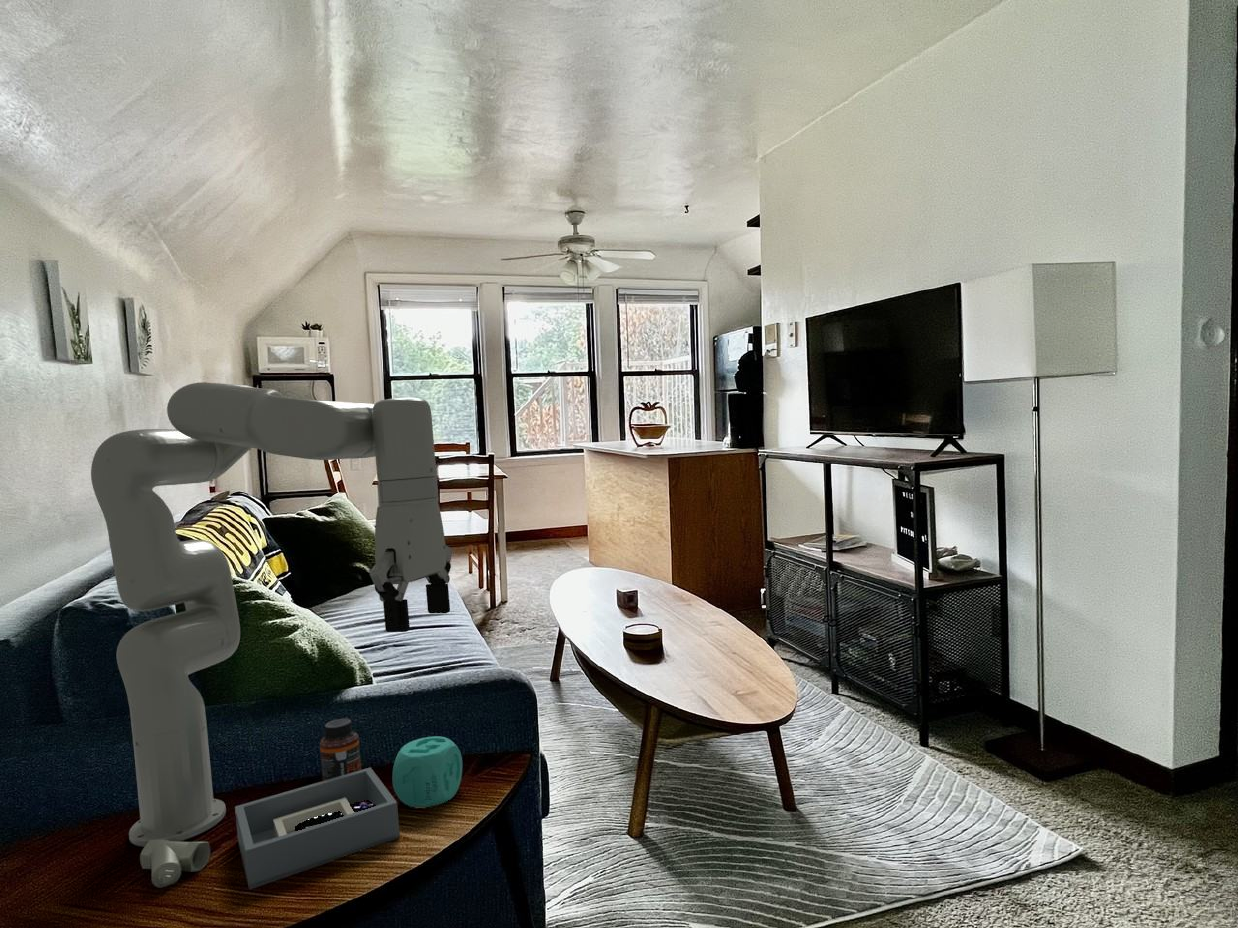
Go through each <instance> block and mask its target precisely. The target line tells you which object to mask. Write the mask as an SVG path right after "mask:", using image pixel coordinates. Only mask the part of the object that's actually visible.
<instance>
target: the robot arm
mask: <svg viewBox="0 0 1238 928" xmlns="http://www.w3.org/2000/svg"><path fill="white" fill-rule="evenodd" d="M166 413H167V417H168V420H169V421H170V423H171V425H172V427H174V429H170V428H169V429H167V428H166V429H165V428H164V429H163V428H151V429H150V428H146V429H145V428H144V429H135V430H133V429H132V430H127V431H122V432H119V433H116V434H113V435H112V436H109V437H108V438H106V439H105V440H104V441H103V442H101V444H100V445H99V446H98V447H97V449H96V450H95V453H94V456H93V457H92V461H91V468H90V478H91V479H90V480H91V484H92V485H91V486H92V489H93V491H94V495H95V498H96V500H97V503H98V505H99V507H100V509H101V512H102V514H103V515H102V516H103V518H104V521H105V524H106V528H107V533H108V534H107V535H108V541H109V547H110V553H111V557H112V558H111V559H112V563H113V571H114V576H115V582H116V587H117V591H118V594H119V598H120V600H121V603H123V605H124V606H125V607H126V608H127V609H129V610H131V611H133V612H147V611H155V610H159V609H163V608H167V607H168V608H169V607H172V606H175V605H179V604H184V607H185V610H184V611H181V612H176V613H173V614H168V615H166V616H162V617H157V618H153V619H151V620H147V621H144V622H143V623H140V624H139V625H136V626H134V627H133V628H131V629H130V630H128V631H127V632H126V633H125V634H124V635H123V636H122V637H121V639H120V641H119V643H118V645H117V648H116V663H117V668H118V670H119V673H120V676H121V679H122V682H123V684H124V685H123V686H124V688H125V691H126V696H127V702H128V706H129V716H130V724H131V733H132V734H131V735H132V743H133V753H134V762H135V763H134V764H135V775H136V785H137V787H136V788H137V796H138V807H139V818H140V819H139V820H138V821H136V822H134V824H133V825H132V826H131V827H130V829H129V832H128V837H129V838H128V839H129V841H130V843H131V844H133V845H135V846H137V847H143V848H144V847H145V846H146V844H147V843H148V842H149V841H150V840H169V841H177V842H184V841H185V840H188V839H191V838H194V837H196V836H198V835H201V834H202V833H204V832H206V831H209V830H210V829H212V828H213V827H215V826H216V825H218V824H219V823H220V822H221V821H222V820H223V819H224V818H225V816H226V813H227V808H226V804H225V802H224V801H223V800H221V799H219V798H218V799H217V798H214V792H213V790H214V789H213V781H212V780H213V779H212V769H211V768H212V767H211V760H210V759H211V758H210V749H209V737H208V727H207V726H208V725H207V716H206V706H205V702H204V698H203V696H202V695H201V692H200V691H199V690H198V689H197V688H196V686H195V685H194V684H193V683H192V681H191V680H190V679H189V675H191V674H193V673H195V672H198V671H200V670H203V669H207V668H209V667H211V666H214V665H217V664H219V663H221V662H222V663H223V662H224V661H225V660H227V659H229V658H230V657H232V656H233V654H234V653H236V651H237V649H238V646H239V644H240V640H241V625H240V617H239V612H238V607H237V606H238V605H237V600H236V594H235V588H234V583H233V577H232V572H231V567H230V563H229V561H228V559H227V557H226V555H225V554H224V552H223V551H222V550H221V549H220V547H218V546H217V545H216V544H215V543H213V542H211V541H209V540H205V539H189V540H183V541H179V539H178V536H177V532H176V526H175V520H174V519H175V518H174V516H173V514H172V512H171V509H170V508H169V506H168V505H167V504H166V502H165V501H164V500H163V498H161V496H160V495H158V494H157V493H156V492H155V491H153V489H154V488H155V487H161V486H163V487H164V486H175V485H189V484H201V483H206V482H211V481H213V480H215V479H218V478H219V477H221V476H223V475H224V474H225V473H226V472H227V471H229V470H230V469H231V468H232V467H233V465H235V464H236V463H237V462H238V461H240V459H241V458H242V457H243V456H245V454H247V453H248V452H249V451H250V450H251V449H252V448H253V449H258V450H260V451H262V452H264V453H268V454H272V455H278V456H282V457H283V456H284V457H290V458H296V459H297V458H298V459H304V460H305V459H306V460H314V461H333V460H334V461H335V460H347V459H353V460H354V459H367V458H374V457H375V466H376V478H377V491H378V501H379V504H378V505H379V506H377V507H376V513H375V524H374V525H375V526H374V528H375V529H374V552H375V554H374V555H375V556H374V558H375V559H374V560H375V564H374V565H373V566H372V568H371V569H370V571H369V576H370V578H371V581H372V582H373V585H374V591H376V593H377V595H379V600H380V602H382V604H383V605H382V606H383V616H384V627H385V631H386V632H387V633H406V632H408V631H410V616H409V615H410V614H409V603H408V598H407V599H405V598H404V597H405V595H406V591H407V589H408V586H409V583H412V582H415V581H418V580H421V579H426V580H427V582H428V583H427V584H425V593H426V595H425V596H426V602H427V603H426V604H427V605H426V606H427V612H428V613H429V614H448V613H450V611H451V606H450V604H451V603H450V594H449V592H450V591H449V583H450V578H451V577H450V575H449V574H450V571H451V568H452V564H451V561H452V556H453V549H452V547H449V546H448V545H447V544H446V539H445V531H444V525H443V519H442V514H441V510H440V505H439V488H438V477H437V476H438V475H437V467H436V466H437V464H436V452H435V451H436V450H435V439H434V428H433V416H432V409H431V406H430V403H429V402H428V401H427V400H425V399H424V398H419V397H397V398H388V399H382V400H379V401H377V402H376V403H365V402H354V401H333V400H332V401H330V400H328V401H327V400H317V399H316V400H313V399H305V398H304V399H302V398H294V397H286V396H284V395H283V394H282V393H281V392H280V391H277V390H276V389H271V388H270V389H269V388H261V387H260V388H259V387H253V386H251V385H246V384H245V385H244V384H237V383H236V384H233V383H222V382H221V383H219V382H209V381H207V382H206V381H204V382H202V381H201V382H194V383H190V384H186V385H184V386H182V387H180V388H179V389H177V390H176V391H175V392H174V393H173V394H172V395H171V397H170V398H169V400H168V403H167V408H166ZM395 585H397V588H396V587H395Z"/></svg>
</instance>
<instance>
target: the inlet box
mask: <svg viewBox="0 0 1238 928" xmlns="http://www.w3.org/2000/svg"><path fill="white" fill-rule="evenodd" d="M390 792H391V791H389V790H388V788H387V787H386V786H385V785H384V783H383V782H382V780H381V779H380V778H379V776H378V775H377V774H376V773H375V771H374V770H373V769H372V767H371V766H369V767H368V768H364V769H361V770H360V771H356V772H353V773H349V774H346V775H342V776H339V777H335V778H332V779H328V780H325V781H323V780H322V781H318V782H315V783H312V784H308V785H305V786H301V787H298V788H295V789H291V790H288V791H284V792H281V793H278V794H274V795H270V796H267V797H263V798H260V799H256V800H253V801H249V802H246V803H242V804H239V805H236V806H234V812H235V823H236V833H237V842H238V847H239V850H240V855H241V860H242V865H243V869H244V873H245V877H246V878H245V879H246V882H247V886H248V890H249V891H250V890H253V889H256V888H259V887H261V886H264V885H267V884H269V883H273V882H276V881H278V880H282V879H285V878H287V877H290V876H293V875H295V874H296V875H297V874H299V873H302V872H304V871H307V870H310V869H313V868H316V867H319V866H322V865H325V864H328V863H330V862H331V863H332V862H334V861H336V860H335V859H337V860H339V859H338V858H340V857H342V856H345V855H349V854H351V855H353V854H352V853H354V854H356V853H355V852H357V853H359V852H358V851H360V850H363V851H365V850H364V849H366V850H368V849H367V848H369V849H371V848H370V847H372V848H374V846H375V847H377V846H381V845H384V844H386V843H388V842H392V841H394V840H398V839H400V838H401V834H400V823H399V811H398V810H399V808H398V802H397V800H396V799H395V798H394V795H392V794H391V793H390ZM364 800H365V801H366V800H369V801H370V802H372V803H373V804H375V805H376V806H374V807H371V808H368V809H365V810H361V811H358V812H354V811H353V809H352V807H351V806H350V804H354V803H355V802H361V801H364ZM338 811H341V812H342V813H343V815H344V816H343V817H339V818H336V819H333V820H330V821H327V822H324V823H321V824H317V825H314V826H311V827H308V828H305V829H302V830H298V831H295V826H297V825H298V824H299V823H302V822H304V821H306V820H308V819H310V818H313V817H317V816H321V815H324V814H327V813H334V812H338ZM376 845H377V846H376ZM360 852H361V851H360ZM349 856H350V855H349ZM340 859H341V858H340ZM333 860H334V861H333Z"/></svg>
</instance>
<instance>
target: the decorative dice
mask: <svg viewBox="0 0 1238 928" xmlns="http://www.w3.org/2000/svg"><path fill="white" fill-rule="evenodd" d="M393 763H394V764H393V767H392V780H391V781H392V782H391V783H392V787H393V791H394V793H395V794H396V796H397V797H398V799H399V800H400V801H401V802H402V803H403V804H404V805H405V806H407V805H408V806H407V807H409V806H410V807H409V808H412V807H430V806H435V805H438V804H441V805H443V804H445V803H447V802H449V801H450V800H452V799H453V797H454V796H455V795H457V792H458V790H459V787H460V785H461V781H462V775H463V756H462V753H461V750H460V748H459V747H458V746H457V744H455V742H454V741H452V740H451V739H449V738H447V737H445V736H440V735H439V736H437V735H434V736H427V737H425V736H424V737H421V738H418V739H414V740H412V741H409V742H407V743H406V744H404V745H403V746H402V747H401V748H400V750H398V752H397V755H396V757H395V760H394V762H393ZM448 800H449V801H448ZM446 801H447V802H446ZM444 802H445V803H444ZM442 803H443V804H442ZM438 806H439V805H438ZM435 807H436V806H435ZM430 808H431V807H430Z"/></svg>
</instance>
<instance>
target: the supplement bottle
mask: <svg viewBox="0 0 1238 928" xmlns="http://www.w3.org/2000/svg"><path fill="white" fill-rule="evenodd" d="M324 734H325V736H324V737H323V738H321V740H320V743H319V748H320V750H319V751H320V762H321V776H322V777H321V778H322V781H325V780H328V779H332V778H335V777H339V776H342V775H346V774H349V773H353V772H356V771H360V770H362V761H361V752H360V751H361V749H360V738H359V734H358V733H357V732H355V731H354V730H353V726H352V720H351V719H349V718H340V719H339V718H338V719H337V718H336V719H333V720H330V721H328V722H327V723H325V725H324Z"/></svg>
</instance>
